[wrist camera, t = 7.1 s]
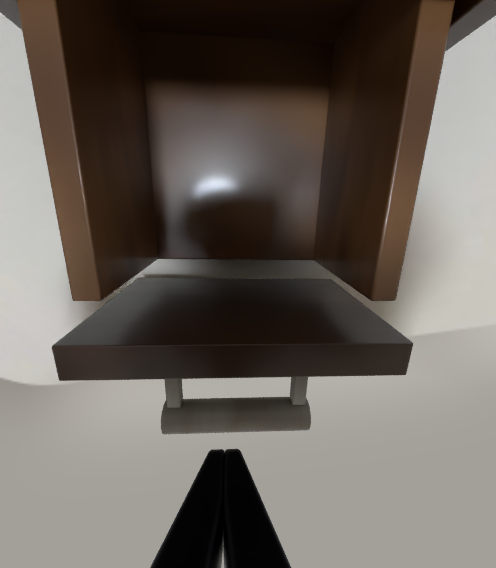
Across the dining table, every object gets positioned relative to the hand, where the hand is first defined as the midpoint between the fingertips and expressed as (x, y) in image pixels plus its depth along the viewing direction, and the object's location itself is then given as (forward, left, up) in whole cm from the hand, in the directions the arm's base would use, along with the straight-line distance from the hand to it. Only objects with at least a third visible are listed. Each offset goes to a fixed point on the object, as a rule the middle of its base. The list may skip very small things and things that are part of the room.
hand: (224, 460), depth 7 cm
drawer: (+6, 0, -9) cm, 10 cm away
